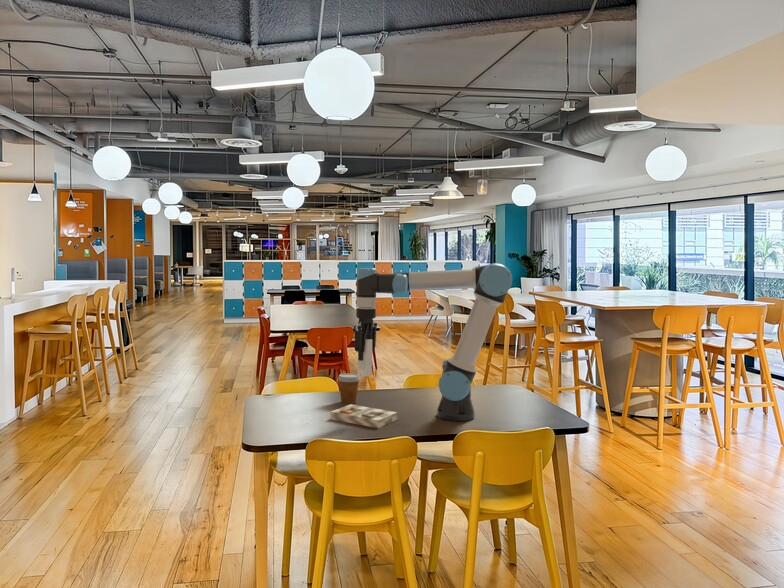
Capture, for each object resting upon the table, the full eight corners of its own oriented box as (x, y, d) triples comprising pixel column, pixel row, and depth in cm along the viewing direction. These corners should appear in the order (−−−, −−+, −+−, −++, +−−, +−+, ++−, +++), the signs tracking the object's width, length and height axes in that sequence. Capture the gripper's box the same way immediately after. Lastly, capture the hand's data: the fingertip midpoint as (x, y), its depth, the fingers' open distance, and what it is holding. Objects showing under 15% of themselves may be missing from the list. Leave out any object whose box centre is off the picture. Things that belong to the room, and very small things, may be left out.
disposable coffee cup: (362, 401, 272) (362, 374, 271) (355, 406, 263) (355, 378, 262) (342, 399, 275) (342, 372, 274) (334, 404, 266) (334, 376, 265)
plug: (371, 374, 242) (372, 339, 241) (366, 376, 239) (367, 340, 238) (363, 373, 244) (363, 338, 243) (357, 375, 241) (358, 339, 240)
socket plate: (397, 419, 243) (397, 410, 243) (378, 428, 231) (379, 418, 231) (350, 411, 254) (350, 402, 254) (330, 419, 242) (330, 409, 242)
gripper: (369, 305, 249) (368, 363, 250) (345, 308, 234) (344, 369, 236) (385, 307, 245) (384, 365, 247) (362, 310, 230) (361, 372, 232)
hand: (364, 367), depth 241 cm, fingers closed on plug, 4 cm apart
